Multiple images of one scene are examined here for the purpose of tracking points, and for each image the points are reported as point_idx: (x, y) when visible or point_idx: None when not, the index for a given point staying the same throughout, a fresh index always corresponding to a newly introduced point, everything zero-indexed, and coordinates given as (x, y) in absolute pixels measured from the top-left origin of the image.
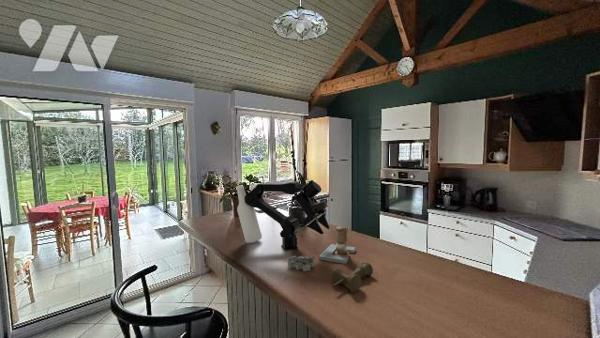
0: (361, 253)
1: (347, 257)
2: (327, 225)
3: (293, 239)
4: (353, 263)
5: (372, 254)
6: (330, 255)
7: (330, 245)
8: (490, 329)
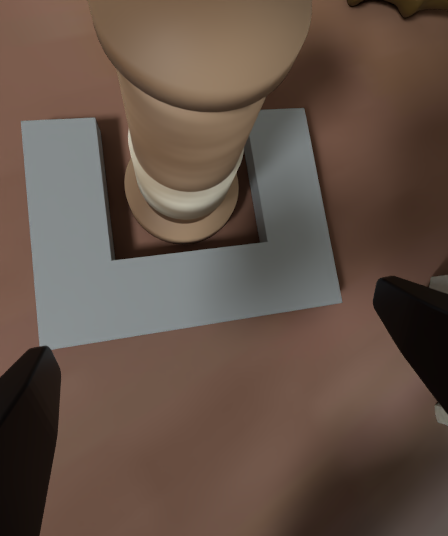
0: (70, 81)
1: None
2: (31, 396)
3: None
4: None
5: (51, 9)
6: (287, 233)
7: (80, 339)
8: None
